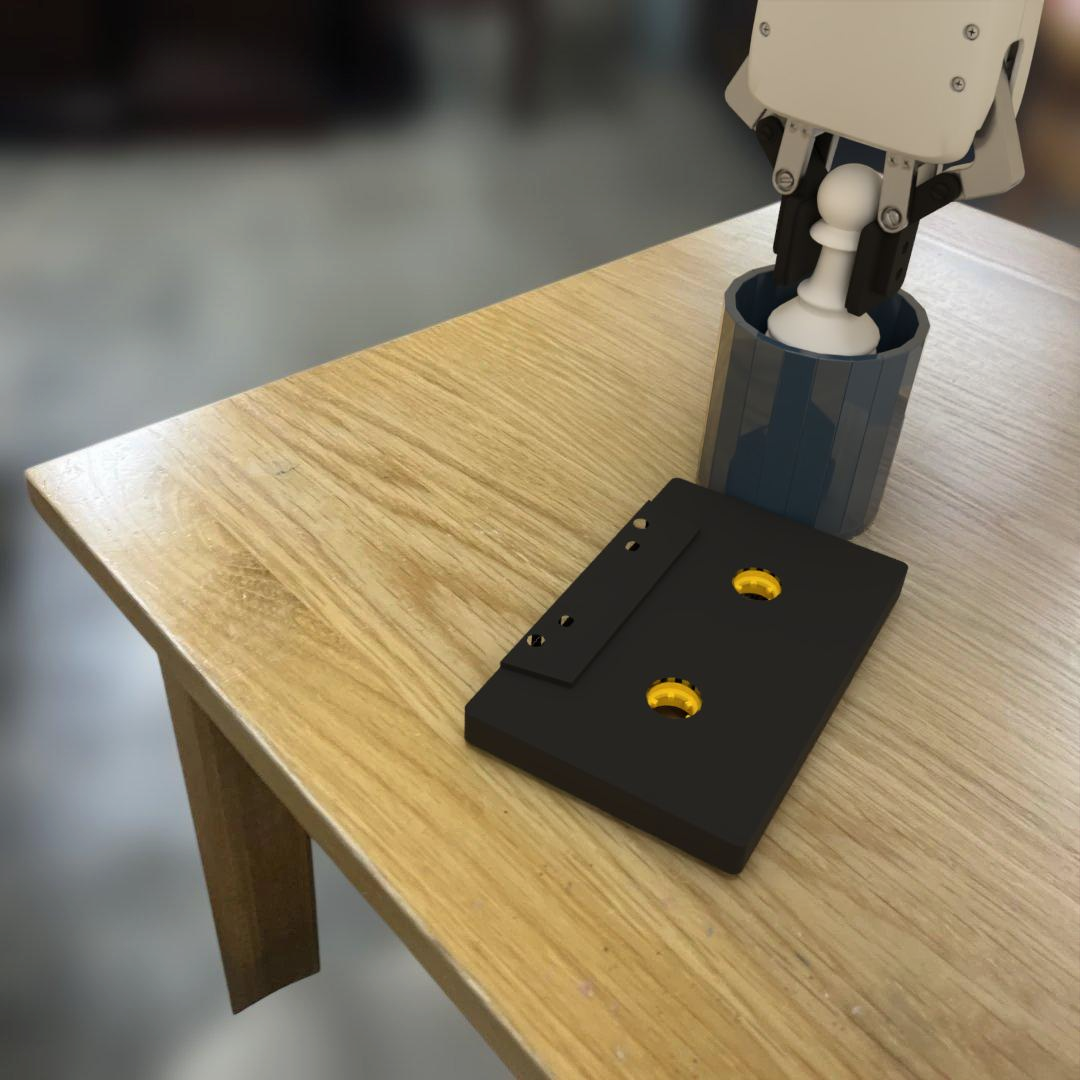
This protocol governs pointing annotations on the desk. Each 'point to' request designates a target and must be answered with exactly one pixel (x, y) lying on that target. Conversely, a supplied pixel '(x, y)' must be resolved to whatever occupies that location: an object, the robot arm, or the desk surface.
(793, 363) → the pen holder
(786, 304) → the chess pawn
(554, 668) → the cassette tape
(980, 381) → the desk surface
